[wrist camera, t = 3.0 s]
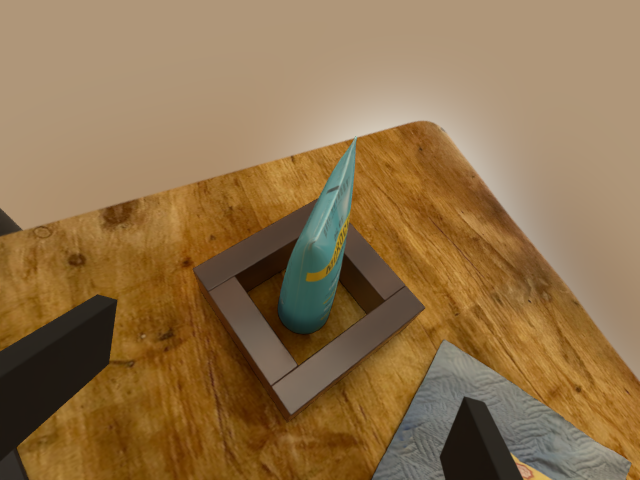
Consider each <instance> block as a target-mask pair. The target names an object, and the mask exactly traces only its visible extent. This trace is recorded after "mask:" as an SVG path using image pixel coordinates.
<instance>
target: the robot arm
mask: <svg viewBox="0 0 640 480" xmlns="http://www.w3.org/2000/svg"><path fill="white" fill-rule="evenodd" d="M116 306H117V300H116V299H112V298H109V297H105V296H101V295H98V294H97V295H96V296H94V297H92V298H91V299H89V300H87V301H85V302H84V303H82V304H80V305H79V306H77V307H75V308H74V309H72V310H70V311H68V312H67V313H65V314H63V315H62V316H60V317H58V318H56V319H55V320H53V321H51V322H50V323H48V324H46V325H45V326H43V327H41V328H39V329H38V330H36V331H34V332H33V333H31V334H29V335H27V336H26V337H24V338H22V339H21V340H19V341H17V342H16V343H14V344H12V345H10V346H9V347H7V348H5V349H4V350H2V351H0V461H1V460H2V459H3V458H5V457H6V456H7V455H8V454H9V453H10V452H11V451H12V450H14V449H15V448H16V447H17V446H18V445H19V444H20V443H21V442H22V441H24V440H25V439H26V438H27V437H28V436H29V435H30V434H31V433H32V432H34V431H35V430H36V429H37V428H38V427H39V426H40V425H41V424H43V423H44V422H45V421H46V420H47V419H48V418H49V417H50V416H51V415H53V414H54V413H55V412H56V411H57V410H58V409H59V408H60V407H61V406H63V405H64V404H65V403H66V402H67V401H68V400H69V399H70V398H72V397H73V396H74V395H75V394H76V393H77V392H78V391H79V390H80V389H82V388H83V387H84V386H85V385H86V384H87V383H88V382H89V381H91V380H92V379H93V378H94V377H95V376H96V375H97V374H98V373H99V372H101V371H102V370H103V369H104V368H105V367H106V366H107V365H108V364H109V359H110V351H111V344H112V336H113V329H114V321H115V314H116ZM439 458H440V461H441V465H442V469H443V473H444V476H445V480H524V479H523V477H522V475H521V473H520V471H519V469H518V467H517V465H516V463H515V461H514V459H513V457H512V455H511V453H510V451H509V449H508V447H507V445H506V443H505V441H504V439H503V437H502V435H501V433H500V431H499V429H498V427H497V425H496V423H495V421H494V419H493V417H492V415H491V413H490V411H489V409H488V407H487V406H486V404H485V402H483V401H480V400H476V399H472V398H469V397H465V396H464V398H463V400H462V402H461V405H460V407H459V410H458V412H457V415H456V417H455V420H454V422H453V425H452V427H451V430H450V432H449V435H448V437H447V439H446V442H445V444H444V447H443V449H442V452H441V454H440V457H439Z"/></svg>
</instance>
